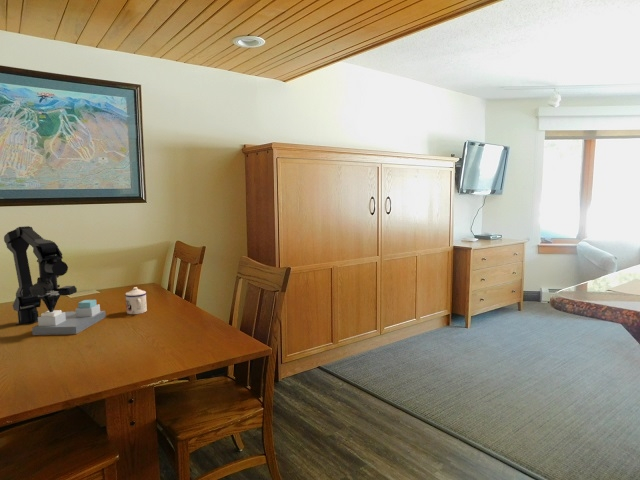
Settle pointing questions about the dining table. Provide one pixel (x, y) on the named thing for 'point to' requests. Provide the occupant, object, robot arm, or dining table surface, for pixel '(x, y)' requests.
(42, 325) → the grey rectangular board
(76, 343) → the dining table surface
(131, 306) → the teacup with lid
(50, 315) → the cream key
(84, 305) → the teal key
